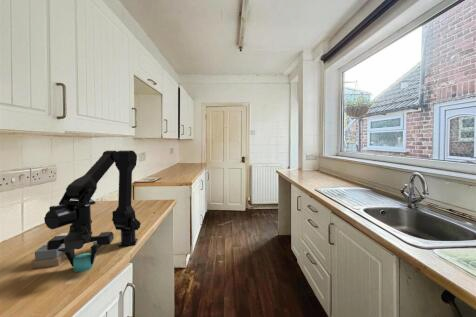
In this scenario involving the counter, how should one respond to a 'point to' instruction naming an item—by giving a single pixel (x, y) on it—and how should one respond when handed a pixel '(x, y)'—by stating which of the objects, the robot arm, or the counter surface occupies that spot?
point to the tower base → (48, 262)
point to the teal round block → (82, 262)
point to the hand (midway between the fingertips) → (82, 265)
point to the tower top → (46, 253)
